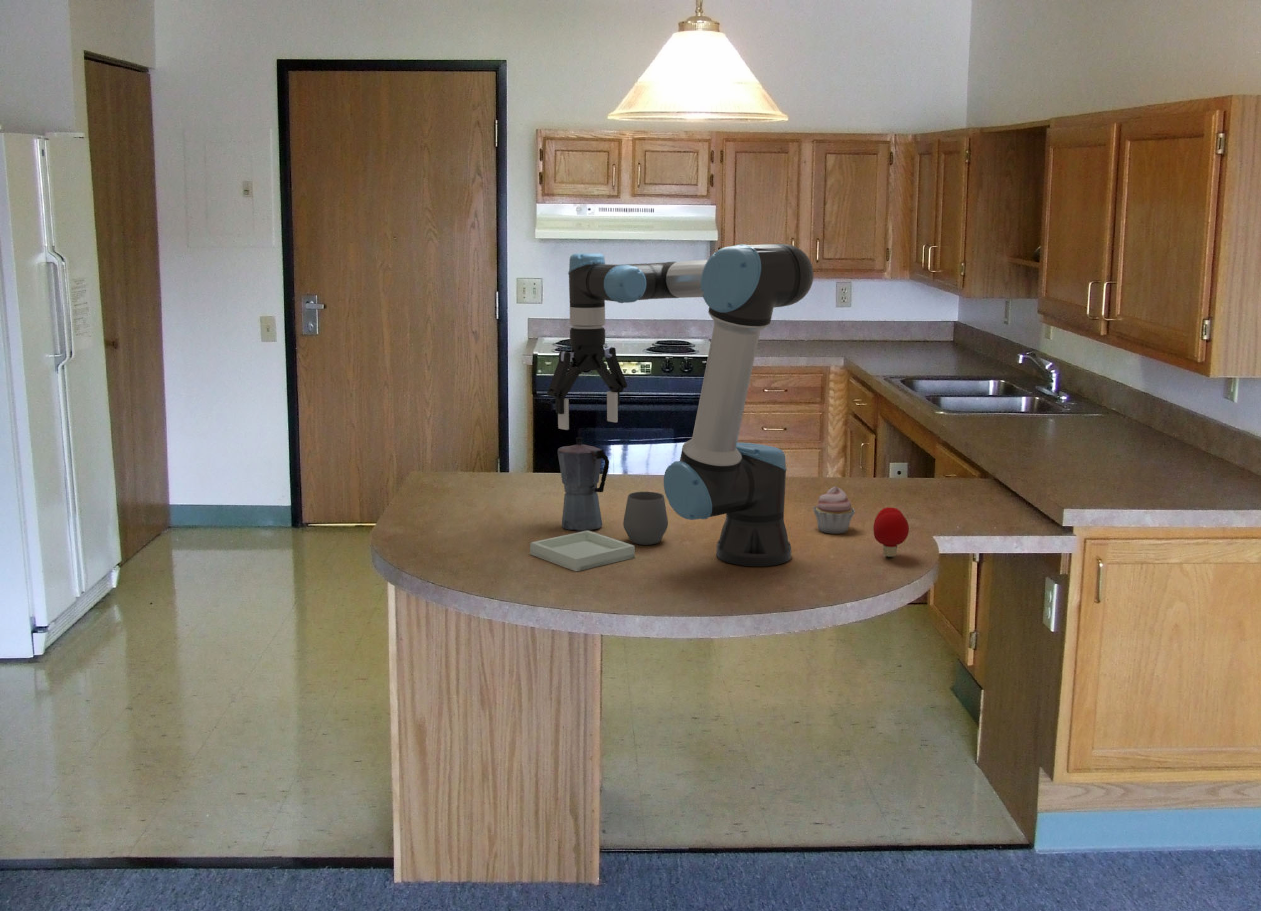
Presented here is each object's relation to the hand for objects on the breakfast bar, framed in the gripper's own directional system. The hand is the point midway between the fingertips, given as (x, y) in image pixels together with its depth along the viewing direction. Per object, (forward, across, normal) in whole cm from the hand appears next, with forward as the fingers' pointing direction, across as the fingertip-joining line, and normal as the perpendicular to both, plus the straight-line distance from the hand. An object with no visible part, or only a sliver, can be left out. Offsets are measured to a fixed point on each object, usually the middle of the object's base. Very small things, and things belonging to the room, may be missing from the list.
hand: (588, 425), depth 284 cm
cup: (+23, -2, +16) cm, 28 cm away
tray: (+23, +15, +16) cm, 32 cm away
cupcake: (+24, -40, +35) cm, 58 cm away
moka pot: (+23, +1, -1) cm, 23 cm away
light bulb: (+24, -33, +56) cm, 69 cm away
